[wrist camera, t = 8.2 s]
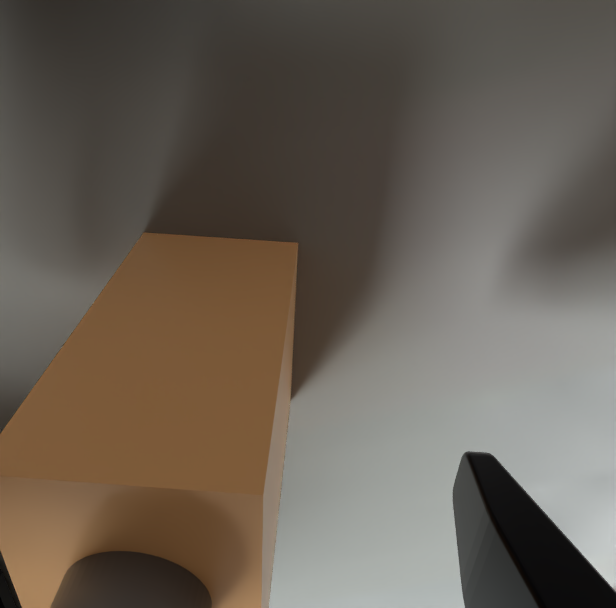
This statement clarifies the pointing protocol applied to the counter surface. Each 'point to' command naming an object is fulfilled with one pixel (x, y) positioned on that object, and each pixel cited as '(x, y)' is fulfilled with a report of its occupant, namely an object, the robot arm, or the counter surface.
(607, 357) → the counter surface
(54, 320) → the counter surface
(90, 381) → the plug
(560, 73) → the counter surface
